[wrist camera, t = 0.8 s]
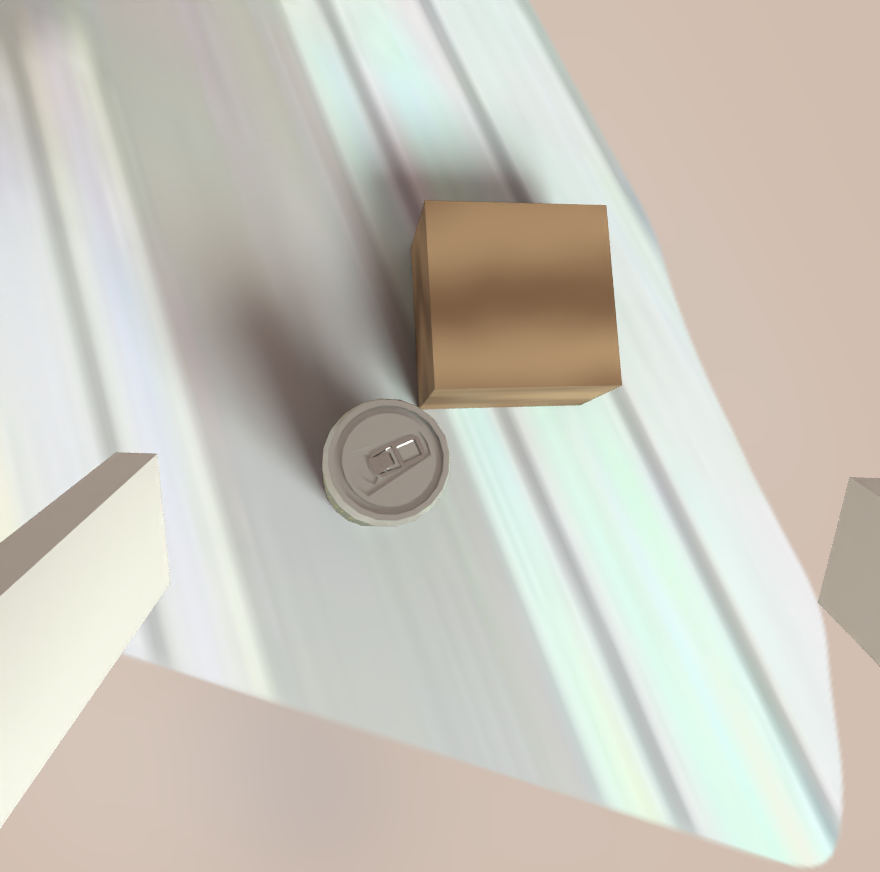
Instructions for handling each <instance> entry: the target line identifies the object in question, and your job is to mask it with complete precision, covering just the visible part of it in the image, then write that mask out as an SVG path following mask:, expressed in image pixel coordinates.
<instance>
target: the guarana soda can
mask: <svg viewBox="0 0 880 872" xmlns="http://www.w3.org/2000/svg"><path fill="white" fill-rule="evenodd" d="M322 473H323V484H324V488H325V491H326V495H327V499H328V500H329V502H330V503H331V505H332V506H333V508H334V509H335V511H336V512H338V513H339V514H340V515H341V516H343V517H344V518H345V519H346V520H348V521H351V522H353V523H356V524H359V525H362V526H398V525H402V524H405V523H408V522H412V521H415V520H416V519H418V518H419V517H421V516H422V515H423V514H425V513H426V512H428V511H429V510H431V509H432V507H433V506H434V505H435V503H436V502H437V501H438V500H439V498H440V497H441V496H442V494H443V493H444V490H445V487H446V484H447V481H448V479H449V476H450V452H449V448H448V445H447V441H446V438H445V435H444V434H443V432H442V431H441V429H440V428H439V426H438V425H437V423H436V422H435V420H434V419H433V418H432V417H430V416H429V415H428V414H427V413H425V412H424V411H423V410H422V409H421V408H419V407H417V406H415V405H412V404H410V403H407V402H405V401H402V400H396V399H376V400H372V401H368V402H364V403H361V404H359V405H357V406H356V407H354V408H353V409H351V410H349V411H348V412H346V413H345V414H343V415H342V417H341V418H340V419H339V420H338V422H337V423H336V424H335V425H334V426H333V428H332V429H331V430H330V433H329V435H328V438H327V440H326V443H325V445H324V448H323V463H322Z"/></svg>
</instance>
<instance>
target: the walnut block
mask: <svg viewBox="0 0 880 872" xmlns="http://www.w3.org/2000/svg"><path fill="white" fill-rule="evenodd" d="M411 257H412V277H413V297H414V318H415V338H416V358H417V378H418V398H419V408H421V409H446V408H485V407H524V406H563V405H582V404H584V403H586V402H588V401H590V400H592V399H594V398H596V397H598V396H601V395H603V394H605V393H607V392H609V391H611V390H613V389H615V388H617V387H619V386H622V380H621V369H620V357H619V346H618V334H617V323H616V311H615V300H614V288H613V277H612V265H611V254H610V242H609V231H608V219H607V208H606V205H578V204H541V203H503V202H466V201H428V200H425V202H424V205H423V208H422V212H421V215H420V218H419V222H418V225H417V228H416V232H415V235H414V238H413V242H412V245H411Z"/></svg>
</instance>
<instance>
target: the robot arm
mask: <svg viewBox="0 0 880 872" xmlns="http://www.w3.org/2000/svg"><path fill="white" fill-rule="evenodd" d="M169 584H170V575H169V565H168V555H167V545H166V535H165V525H164V516H163V506H162V496H161V486H160V476H159V466H158V456H157V454H147V453H117V452H116V453H115V454H113V455H112V456H111V457H109V458H108V459H107V460H106V461H104V462H103V463H102V464H101V465H99V466H98V467H97V468H95V469H94V470H93V471H92V472H90V473H89V474H88V475H87V476H85V477H84V478H83V479H81V480H80V481H79V482H78V483H76V484H75V485H74V486H72V487H71V488H70V489H69V490H67V491H66V492H65V493H64V494H62V495H61V496H60V497H58V498H57V499H56V500H55V501H53V502H52V503H51V504H50V505H48V506H47V507H46V508H44V509H43V510H42V511H41V512H39V513H38V514H37V515H35V516H34V517H33V518H32V519H30V520H29V521H28V522H27V523H25V524H24V525H23V526H21V527H20V528H19V529H18V530H16V531H15V532H14V533H13V534H11V535H10V536H9V537H7V538H6V539H5V540H4V541H2V542H1V543H0V828H1V826H2V825H3V824H4V822H5V821H6V819H7V818H8V816H9V815H10V814H11V812H12V811H13V809H14V808H15V806H16V805H17V803H18V802H19V801H20V799H21V798H22V796H23V795H24V793H25V792H26V790H27V789H28V787H29V786H30V785H31V783H32V782H33V780H34V779H35V777H36V776H37V775H38V773H39V772H40V770H41V769H42V767H43V766H44V764H45V763H46V761H47V760H48V759H49V757H50V756H51V754H52V753H53V752H54V750H55V748H56V747H57V746H58V744H59V743H60V741H61V740H62V738H63V737H64V736H65V734H66V733H67V731H68V730H69V728H70V727H71V726H72V724H73V723H74V721H75V720H76V718H77V717H78V715H79V714H80V713H81V711H82V710H83V708H84V707H85V705H86V704H87V702H88V701H89V699H90V698H91V697H92V695H93V694H94V692H95V691H96V689H97V688H98V687H99V685H100V684H101V682H102V681H103V679H104V678H105V676H106V675H107V674H108V672H109V671H110V669H111V668H112V666H113V665H114V664H115V662H116V661H117V659H118V658H119V656H120V655H121V653H122V652H123V651H124V649H125V648H126V646H127V645H128V643H129V642H130V640H131V639H132V638H133V636H134V635H135V633H136V632H137V630H138V629H139V627H140V626H141V625H142V623H143V622H144V620H145V619H146V617H147V616H148V614H149V613H150V612H151V610H152V609H153V607H154V606H155V604H156V603H157V601H158V600H159V599H160V597H161V596H162V594H163V593H164V591H165V590H166V588H167V587H168V586H169ZM818 603H819V604H820V605H821V606H822V607H823V608H824V609H825V610H826V611H827V612H828V613H829V614H830V615H831V616H832V617H833V618H834V619H835V620H836V622H837V623H838V624H839V625H840V626H841V627H842V628H843V629H844V630H845V631H846V632H847V633H848V634H849V635H850V636H851V637H852V638H853V639H854V640H855V641H856V642H857V643H858V644H859V645H860V646H861V647H862V649H864V650H865V652H867V654H868V655H869V656H870V657H871V658H872V659H873V660H874V661H875V662H876V663H877V664H878V665H879V666H880V478H856V477H854V478H853V477H850V478H849V481H848V486H847V489H846V493H845V497H844V501H843V505H842V509H841V513H840V517H839V521H838V525H837V529H836V533H835V537H834V541H833V544H832V549H831V553H830V556H829V560H828V564H827V568H826V573H825V576H824V580H823V584H822V588H821V592H820V596H819V600H818Z"/></svg>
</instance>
